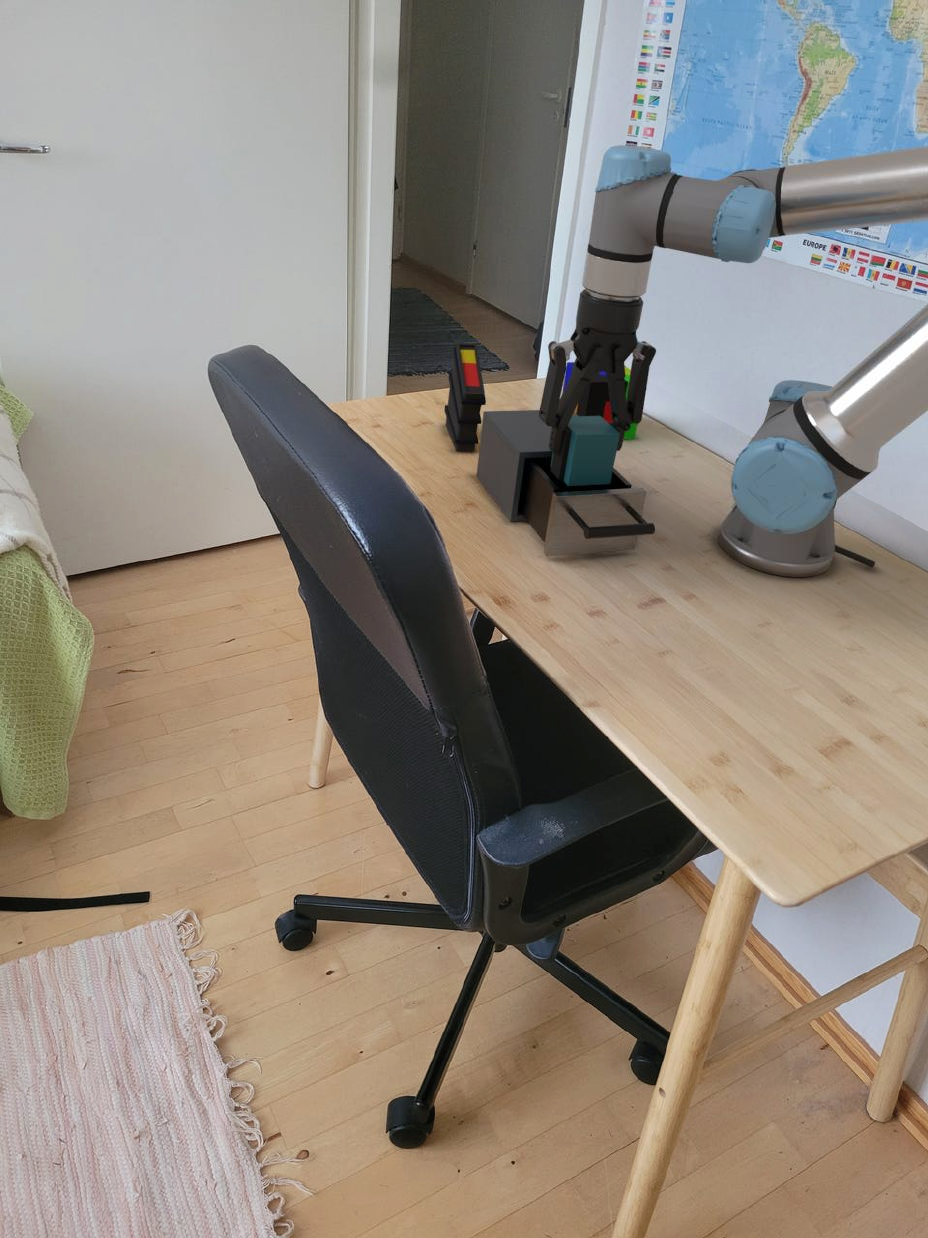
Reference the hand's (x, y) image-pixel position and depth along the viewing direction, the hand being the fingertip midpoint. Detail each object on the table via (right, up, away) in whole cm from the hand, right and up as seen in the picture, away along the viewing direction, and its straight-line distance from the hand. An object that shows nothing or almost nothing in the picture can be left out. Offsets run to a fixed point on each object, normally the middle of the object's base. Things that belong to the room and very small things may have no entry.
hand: (580, 473), depth 124 cm
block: (0, 0, 0) cm, 0 cm away
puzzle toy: (+8, +14, +40) cm, 43 cm away
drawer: (0, -9, +2) cm, 9 cm away
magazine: (-16, +9, +29) cm, 35 cm away
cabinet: (-5, -1, +15) cm, 15 cm away
